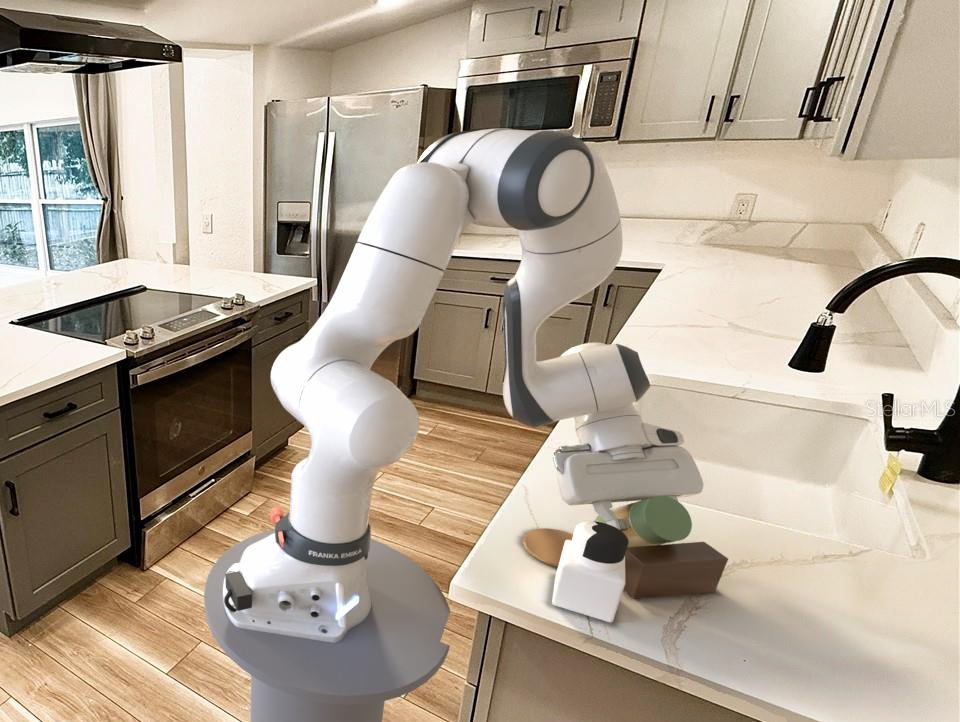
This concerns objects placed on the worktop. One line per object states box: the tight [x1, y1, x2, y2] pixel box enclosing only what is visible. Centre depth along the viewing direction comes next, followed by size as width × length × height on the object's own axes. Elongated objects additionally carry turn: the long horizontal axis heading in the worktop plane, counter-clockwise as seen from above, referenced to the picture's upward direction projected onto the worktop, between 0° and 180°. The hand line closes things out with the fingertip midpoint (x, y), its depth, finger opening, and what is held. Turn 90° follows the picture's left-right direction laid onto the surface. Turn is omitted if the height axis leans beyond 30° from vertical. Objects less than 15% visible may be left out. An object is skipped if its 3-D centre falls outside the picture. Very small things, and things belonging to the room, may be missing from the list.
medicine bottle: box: [551, 520, 629, 623], centre depth 85 cm, size 7×7×12 cm
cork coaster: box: [522, 527, 574, 568], centre depth 98 cm, size 10×10×1 cm
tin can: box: [594, 496, 693, 547], centre depth 92 cm, size 12×7×12 cm, turn 3°
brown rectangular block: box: [623, 541, 729, 599], centre depth 92 cm, size 14×12×6 cm
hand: (644, 529), depth 92 cm, fingers closed on tin can, 6 cm apart
